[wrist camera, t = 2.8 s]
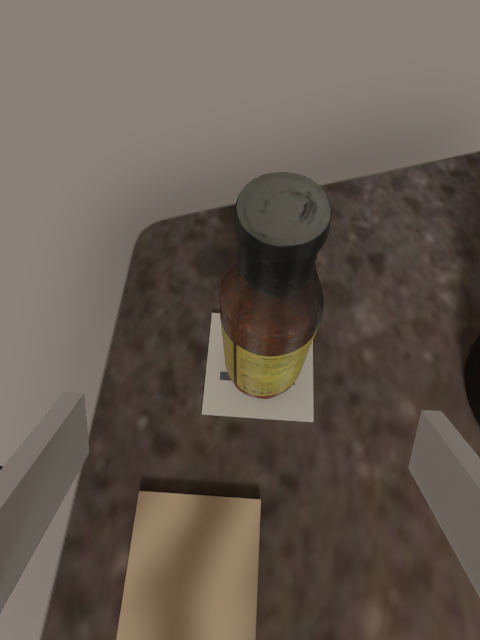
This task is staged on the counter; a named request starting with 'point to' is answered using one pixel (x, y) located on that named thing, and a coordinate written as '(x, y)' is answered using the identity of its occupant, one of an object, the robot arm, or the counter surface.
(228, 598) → the coaster
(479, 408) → the robot arm
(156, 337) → the counter surface
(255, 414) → the tile
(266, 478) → the counter surface
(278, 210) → the sauce bottle
